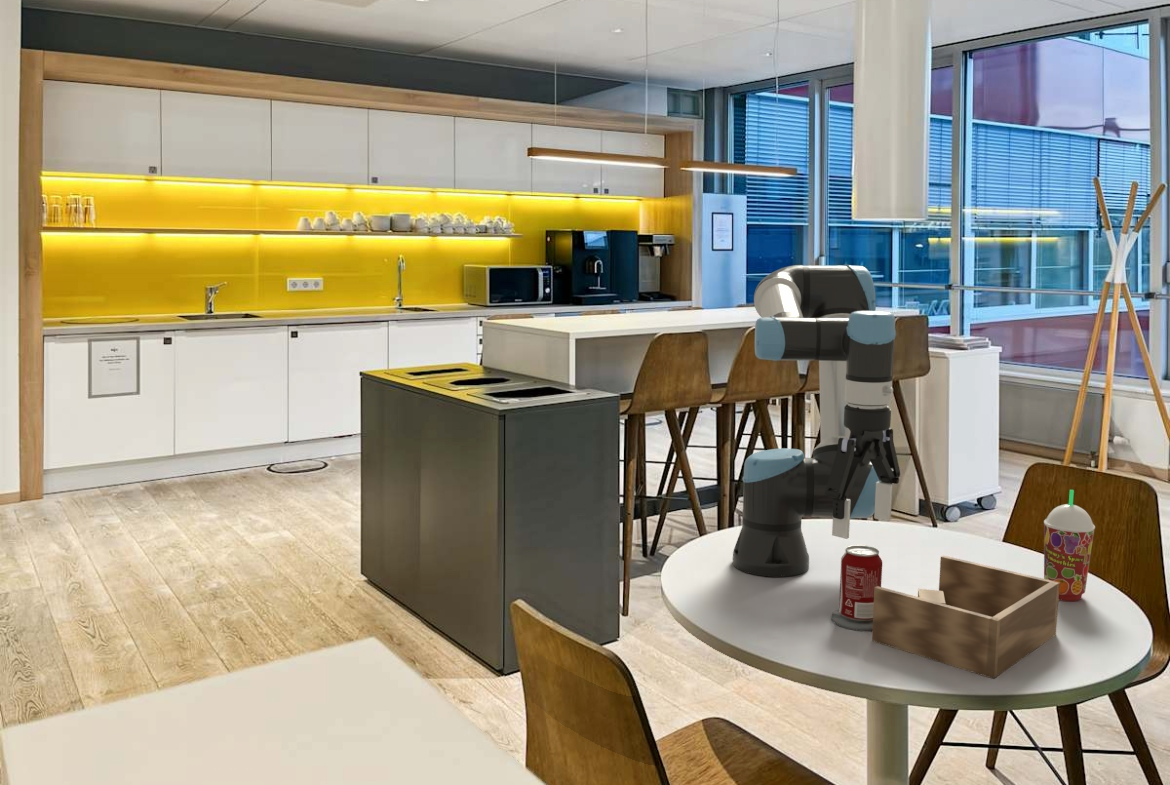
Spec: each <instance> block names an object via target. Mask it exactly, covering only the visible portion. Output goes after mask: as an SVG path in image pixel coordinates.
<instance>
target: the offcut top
mask: <svg viewBox="0 0 1170 785" xmlns="http://www.w3.org/2000/svg"><path fill="white" fill-rule="evenodd" d="M917 597H920V598H924V599H927V600H931V601H935V602H938V603H942V604H946V603H945V598H944V593H943V591H939V590H935V589H925V588H918V589H917Z"/></svg>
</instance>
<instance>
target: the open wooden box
mask: <svg viewBox="0 0 1170 785" xmlns="http://www.w3.org/2000/svg"><path fill="white" fill-rule="evenodd" d="M1059 587H1060V582H1055V581H1051V580H1047V579H1044V578H1042V577H1037V576H1033V575H1029V574H1025V573H1021V572H1020V573H1019V572H1016V571H1011V570H1007V569H1003V568H999V567H995V566H990V565H986V564H981V563H978V562H977V563H976V562H974V561H968V560H966V559H965V560H964V559H960V558H957V557H956V558H955V557H953V556H948V555H941V556H940V563H939V584H938V591H943V593H944V598H945V603H946V604H942V603H938V602H935V601H931V600H927V599H924V598H920V597H918V596H916V595H913V594H908V593H905V592H901V591H898V590H894V589H890V588H886V587H882V586H881V587H879V586H877V587H875V588H874V609H873V631H871V632H872V635H871V636H872V637H871V638H872V639H871V641H872V642H876V643H879V644H880V645H881V644H882V645H885V646H887V647H888V646H889V647H892V648H894V649H897V650H900V651H903V652H908V653H910V654H914V655H917V656H920V657H924V658H926V659H930V660H933V661H936V662H939V663H942V664H945V665H949V666H953V667H955V668H959V669H962V670H965V671H968V672H971V673H974V674H978V675H981V676H983V677H988V678H991V679H996V678H997V677H999V676H1000V675H1001V674H1003V673H1004V672H1006V671H1007V670H1008V669H1009V668H1011V667H1013V666H1014V665H1015V664H1017V663H1018V662H1020V661H1021V660H1022V659H1024V658H1026V657H1027V656H1028V655H1030V654H1031V653H1032V652H1034V651H1035V650H1037V649H1038V648H1040V647H1041V646H1042V645H1043V644H1045V643H1047V642H1048V641H1049V640H1051V639H1052V638H1053V637H1056V636H1057V624H1058V611H1059V601H1060V600H1059Z"/></svg>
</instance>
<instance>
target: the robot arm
mask: <svg viewBox="0 0 1170 785" xmlns="http://www.w3.org/2000/svg"><path fill="white" fill-rule="evenodd" d="M753 304H754V308H755V311H756V313H757V314H758V315H759V317H758V318H757V319H756V320H755V326H754V354H755V357H756V358H757V359H759V360H768V361H769V360H770V361H773V362H778V361H815V362H818V368H819V369H818V371H819V375H818V376H819V379H818V380H819V416H820V419H819V420H820V421H819V423H820V425H819V427H820V428H819V429H820V443H819V444H817V445H816V447H814V449H813V450H812V457H805V454H804V452H803V451H802V450H801V449H797V448H788V447H787V448H785V447H782V448H771V449H767V450H766V449H765V450H761V451H757V452H754V453H751V454H750V455H749V456H748V457H747V458H746V459H745V461H744V464H743V466H744V467H743V476H742V478H741V479H742V482H743V492H742V493H743V497H742V522H741V523H742V525H741V529H740V532H739V534H738V538H737V540H736V543H735V546H734V549H733V550H732V551H733V552H732V565H733V566H734V567H735V568H736V569H737V570H740V572H741V571H742V572H744V573H748V574H751V575H755V576H762V577H773V578H774V577H775V578H782V577H783V578H784V577H794V576H797V575H802V574H803V573H805V572H807V571H808V570H809V568H810V554H809V553H808V549H807V544H806V541H805V538H804V535H803V531H802V517H815V518H817V517H818V518H832V526H831V527H832V528H831V530H832V531H831V533H832V534H831V535H832V536H834V537H837V538H842V539H846V540H849V538H850V525H851V523H850V521H851V520H852V519H867V518H870V517H872V516H874V517H873V518H874V519H875V520H879V521H883V522H891V520H892V519H891V518H892V503H893V502H892V500H893V484H896V485H899V482H900V477H901V469H900V466H899V461H898V456H897V452H896V447H895V443H894V429H893V428H891V423H892V422H891V421H892V409H891V407H890V406H889V405H890V404H891V403H892V397H893V396H892V395H893V393H894V388H893V377H894V376H893V375H894V374H893V373H894V372H893V371H894V358H895V357H894V356H895V355H894V354H895V340H896V337H897V331H896V317H895V315H894V314H893V313H891V312H888V311H882V310H876V308H877V304H876V289H875V284H874V279H873V277H872V274H871V272H870V271H869V270H868V268H866V267H865V266H861V265H850V264H843V265H803V264H795V265H789V266H785V267H781V268H779V269H777V270H775V271H773V272H770V273H769V274H767V275H766V276H765V277H764V278H762V279H761V280H760V282H759V283H758V284H757V286H756V288H755V291H754V294H753Z"/></svg>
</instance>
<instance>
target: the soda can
mask: <svg viewBox="0 0 1170 785" xmlns="http://www.w3.org/2000/svg"><path fill="white" fill-rule="evenodd" d="M844 550H845V552H844V554H843V555H842V556H841V557H840V578H839V579H840V582H839V599H838V600H839V602H838V606H839V607H838V610H839V613H840V614H841V615H842V616H843V617H845V618H846V619H848V620H850V621H853V622H859V623H867V622H871V621H873V609H874V588H875V587H877V586H879V587H882V580H883V579H882V578H883V577H882V576H883V575H882V574H883V560H882V558H881V556H880V555H879V553H880V550H879V549H878V548H876V547H873V546H870V545H864V544H853V545H852V544H851V545H848V546H846V547H845V549H844Z"/></svg>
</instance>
